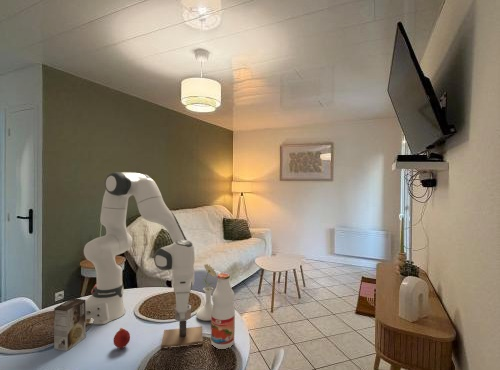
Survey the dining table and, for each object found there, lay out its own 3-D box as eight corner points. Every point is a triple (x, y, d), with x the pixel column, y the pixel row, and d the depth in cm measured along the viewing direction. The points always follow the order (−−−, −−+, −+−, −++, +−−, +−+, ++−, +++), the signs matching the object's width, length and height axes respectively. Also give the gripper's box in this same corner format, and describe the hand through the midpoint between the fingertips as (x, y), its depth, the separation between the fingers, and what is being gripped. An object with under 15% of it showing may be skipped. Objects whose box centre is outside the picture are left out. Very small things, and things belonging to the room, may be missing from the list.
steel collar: (174, 321, 106) (174, 311, 106) (175, 313, 113) (175, 304, 113) (190, 320, 108) (190, 310, 108) (191, 312, 114) (191, 303, 114)
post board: (160, 350, 103) (161, 327, 103) (164, 334, 114) (164, 314, 114) (202, 345, 107) (202, 324, 106) (202, 330, 117) (202, 310, 117)
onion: (125, 341, 108) (125, 322, 108) (132, 347, 104) (132, 327, 104) (110, 348, 103) (110, 328, 103) (117, 354, 100) (117, 333, 100)
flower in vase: (222, 320, 125) (223, 267, 125) (198, 325, 121) (199, 270, 121) (215, 308, 137) (216, 260, 137) (193, 312, 133) (194, 262, 133)
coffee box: (72, 335, 112) (72, 297, 111) (86, 337, 110) (86, 299, 110) (53, 349, 103) (53, 307, 102) (67, 351, 101) (67, 309, 101)
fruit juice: (238, 340, 110) (239, 272, 110) (227, 353, 101) (228, 280, 101) (218, 334, 114) (219, 269, 114) (206, 346, 105) (207, 276, 105)
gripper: (177, 272, 120) (177, 302, 120) (173, 290, 100) (173, 326, 100) (191, 271, 121) (191, 301, 121) (190, 289, 101) (190, 325, 101)
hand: (183, 313), depth 110 cm, fingers closed on steel collar, 6 cm apart
